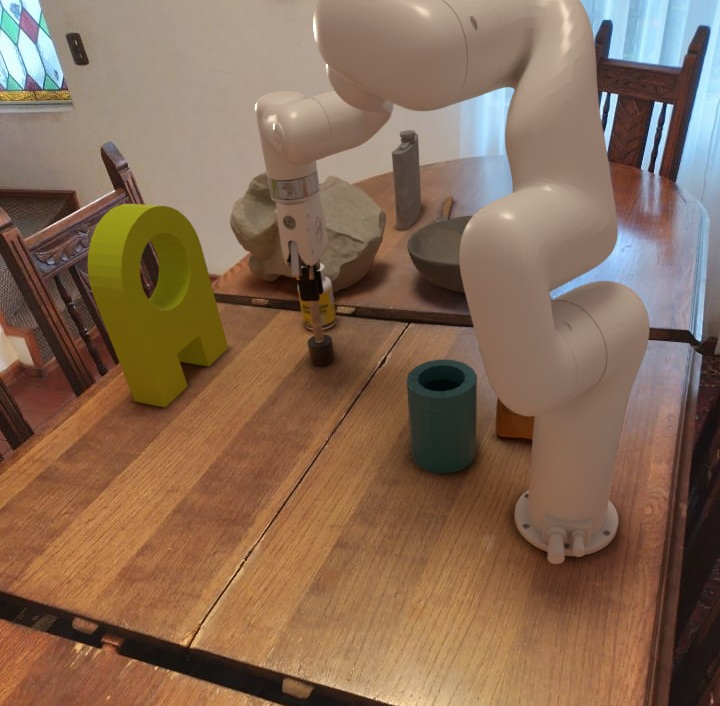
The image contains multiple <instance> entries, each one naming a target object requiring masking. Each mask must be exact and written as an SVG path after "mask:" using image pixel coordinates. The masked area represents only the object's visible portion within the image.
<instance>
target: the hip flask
mask: <svg viewBox="0 0 720 706" xmlns="http://www.w3.org/2000/svg"><path fill="white" fill-rule="evenodd" d="M399 138H400V144H399V146H397V147H396V148H395V149H394V150H393V151H391V161H392V176H393V177H392V178H393V189H394V192H393V193H394V201H395V202H394V205H395V219H396V229H397V230H399V231H406V230H409V229H411V228H412V226H414V224H415V223H416V221H418V219H419V217H420V215H421V212H422V192H421V172H420V171H421V169H420V167H421V166H420V150H419V149H420V146H419V133H416V131H415V130H412V129H408V130H406V129H405V130H402V131H400V132H399Z"/></svg>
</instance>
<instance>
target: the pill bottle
mask: <svg viewBox="0 0 720 706" xmlns="http://www.w3.org/2000/svg"><path fill="white" fill-rule="evenodd" d="M302 268H303V267H302ZM317 271H321V277H322V284H323V293H322V294H319V296H320V299H319V300H318V304H319V311H320V317H321V323H322V329H323V331H324V330H328V329H330V328H332V327H333V326H334V325H335V324H336V322H337V315H336V313H337V312H336V307H335V298H334V293H333V290H332V283H331V281H330V279H329V278H328V277H326V276H324V275H325V267H324V265H323V264H321V263H320V270H317ZM297 293H298V297H299V298H298V300H299V305H300V311H301V316H302V321H303V326H304V327H306V329H308V330H310V331H313V325H312V319H311V313H310V307H309V301H302V300H301V298H300V292H299V286H298V285H297Z"/></svg>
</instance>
